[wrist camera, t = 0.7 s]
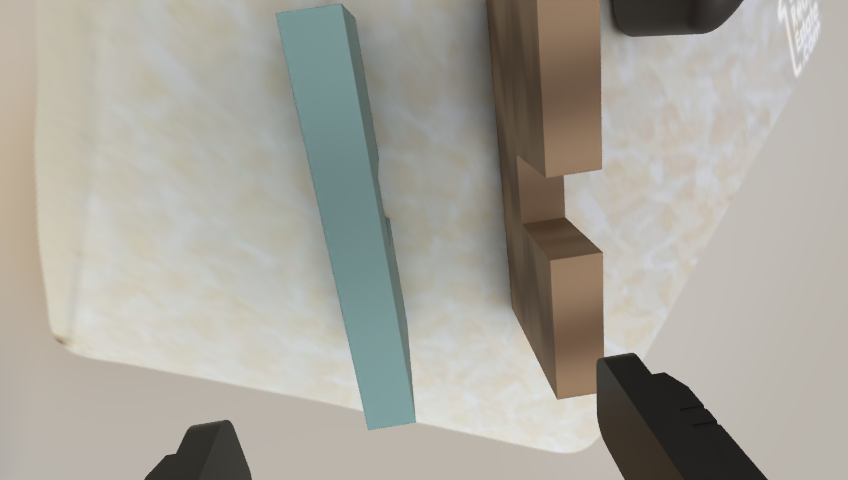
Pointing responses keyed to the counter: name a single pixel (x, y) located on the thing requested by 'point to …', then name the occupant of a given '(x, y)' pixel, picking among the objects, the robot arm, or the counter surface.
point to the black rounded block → (672, 16)
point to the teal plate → (351, 203)
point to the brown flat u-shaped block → (550, 177)
